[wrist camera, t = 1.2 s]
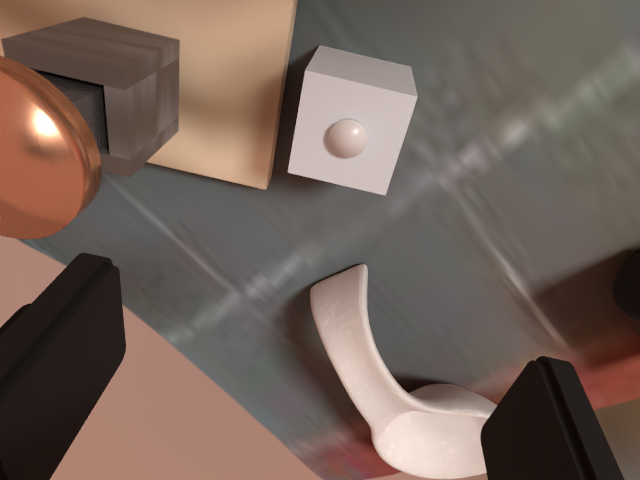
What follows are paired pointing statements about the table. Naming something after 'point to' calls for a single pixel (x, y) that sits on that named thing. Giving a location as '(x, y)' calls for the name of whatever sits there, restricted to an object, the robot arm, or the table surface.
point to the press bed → (168, 76)
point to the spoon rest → (397, 391)
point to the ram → (47, 149)
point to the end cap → (629, 291)
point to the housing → (352, 119)
